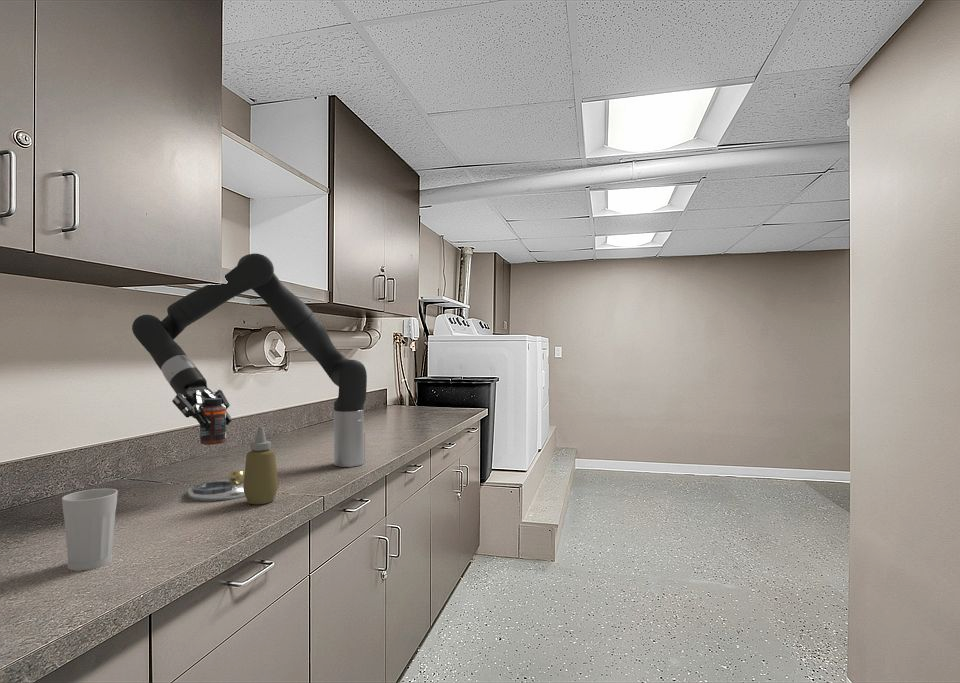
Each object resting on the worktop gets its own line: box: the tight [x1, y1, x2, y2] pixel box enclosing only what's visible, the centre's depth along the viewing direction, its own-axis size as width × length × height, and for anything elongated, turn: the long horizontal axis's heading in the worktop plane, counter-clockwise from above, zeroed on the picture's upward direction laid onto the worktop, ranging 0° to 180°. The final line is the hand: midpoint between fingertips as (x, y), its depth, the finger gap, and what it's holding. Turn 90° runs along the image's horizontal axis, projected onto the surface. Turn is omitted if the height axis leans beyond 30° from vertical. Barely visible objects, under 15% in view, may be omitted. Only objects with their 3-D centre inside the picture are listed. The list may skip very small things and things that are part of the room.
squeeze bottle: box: [243, 426, 279, 505], centre depth 135 cm, size 8×8×18 cm
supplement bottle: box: [199, 398, 227, 446], centre depth 141 cm, size 6×6×11 cm
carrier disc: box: [187, 469, 246, 502], centre depth 143 cm, size 16×16×4 cm
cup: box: [61, 488, 119, 572], centre depth 97 cm, size 8×8×12 cm
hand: (218, 424), depth 140 cm, fingers closed on supplement bottle, 6 cm apart
